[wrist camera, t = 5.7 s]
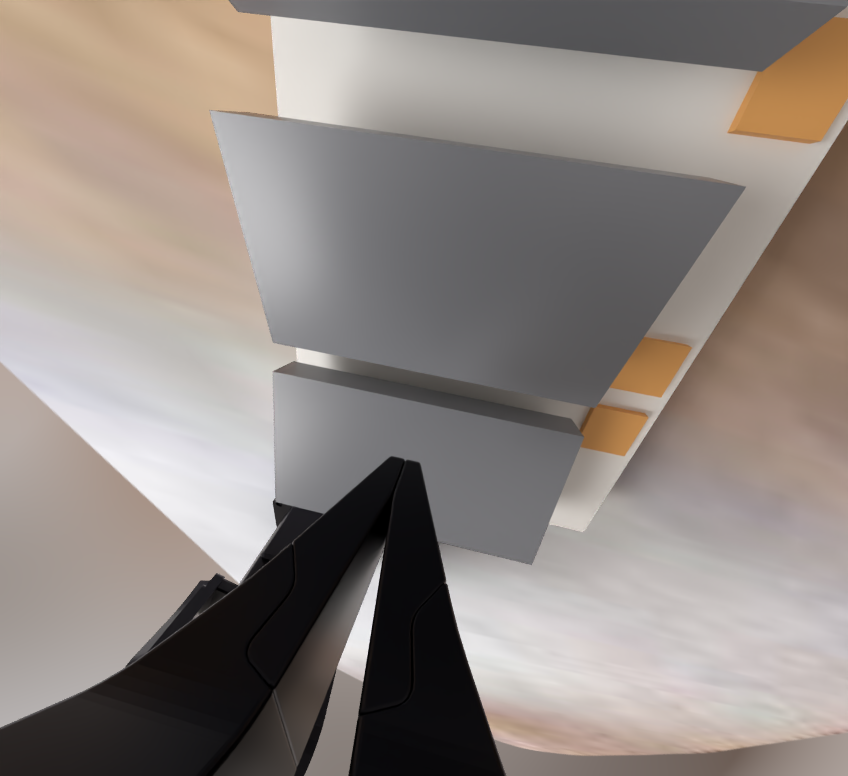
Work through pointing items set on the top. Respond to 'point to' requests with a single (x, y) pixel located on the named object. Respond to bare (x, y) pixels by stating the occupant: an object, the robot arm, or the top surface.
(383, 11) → the plate
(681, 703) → the top surface
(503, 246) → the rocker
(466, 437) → the rocker
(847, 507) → the top surface
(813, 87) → the switch unit
